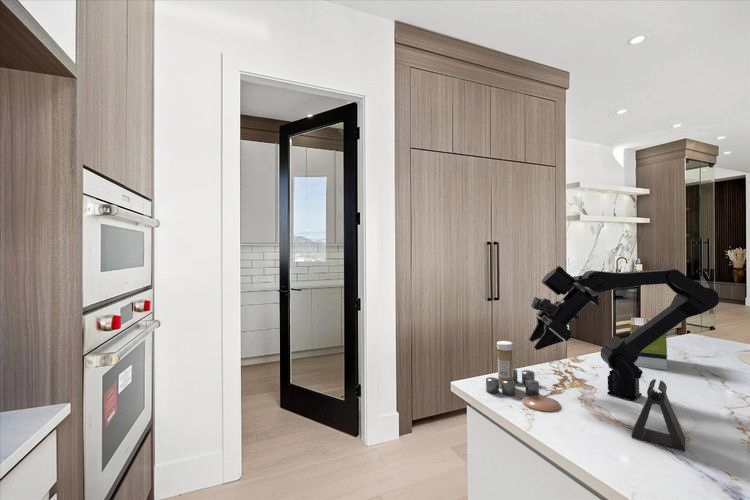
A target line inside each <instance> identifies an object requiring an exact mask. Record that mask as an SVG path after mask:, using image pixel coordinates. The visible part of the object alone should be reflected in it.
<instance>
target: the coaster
mask: <svg viewBox="0 0 750 500" xmlns="http://www.w3.org/2000/svg"><path fill="white" fill-rule="evenodd" d="M522 404H523V406H525V407H527V408H529V409H531V410H534V411H538V412H543V413H544V412H547V413H550V412H552V413H553V412H557V411H559V410H560V409H561V406H560V402H559V401H558V400H556V399H554V398H551V397H548V396H544V395H540V394H539V395H531V396H528V395H526V396H524V397H523V398H522Z"/></svg>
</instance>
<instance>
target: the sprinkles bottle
mask: <svg viewBox="0 0 750 500" xmlns="http://www.w3.org/2000/svg"><path fill="white" fill-rule="evenodd" d="M496 349H497V350H496V351H497V376H498V377H497V379H499V389H500V388H501V389H502V380H504V379H509V380H513V369H514V362H513V361H514V360H513V350H514V344H513V342H511V341H507V340H499V341H497V342H496Z"/></svg>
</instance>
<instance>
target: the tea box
mask: <svg viewBox="0 0 750 500" xmlns="http://www.w3.org/2000/svg"><path fill="white" fill-rule="evenodd" d="M651 319H652V318H647V317H631V318H630V327H629V328H630V329H629V331H630V335H631V334H632V333H633V332H635V331H636V330H637V329H639V328H640V327H642V326H643V325H644V324H646V323H647V322H648V321H650V320H651ZM667 344H668V343H667V333H665V334H664V335H663V336H661V337H660V338H658V339H657V340H656V341H654V342H653V343H651V344H650V345H649V346H647V347H646V348H644V349H643V350H642V351H641V353H640V355H639V357H638V359H637V361H636V362H635V363H634V364H635V365H636V366H637V367H638V368H647V369H655V370H665V371H666V370H668V346H667Z"/></svg>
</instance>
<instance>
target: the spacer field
mask: <svg viewBox="0 0 750 500" xmlns="http://www.w3.org/2000/svg"><path fill="white" fill-rule="evenodd" d="M535 378H536V377H535V372H534V371H533V370H528V369H526V370H525V369H524V370H521V384H522V385H524V387H525V388H524V390H525V392H524V393H525V395H526V396H531V395H539V396H540V382H539V381H538V380H536V379H535ZM518 379H519V378H518V370H517V369H515V368H513V380H509V379H504V380H502V388H501V394H502V395H503V396H507V397H514V396H516V384H518ZM485 390H486V391H485V392H486V393H487V394H492V395H494V394H495V395H496V394H499V393H500V387H499V379H498V377H494V376H493V377H491V376H490V377H489V376H488V377H486V378H485Z"/></svg>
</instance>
